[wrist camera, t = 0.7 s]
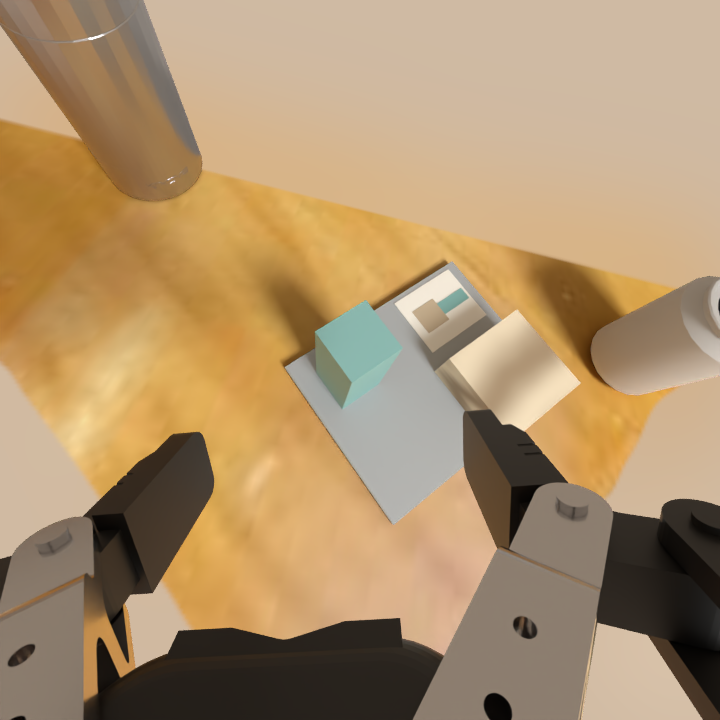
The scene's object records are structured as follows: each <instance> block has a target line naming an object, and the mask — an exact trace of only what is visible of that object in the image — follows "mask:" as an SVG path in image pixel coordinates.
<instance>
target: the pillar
mask: <svg viewBox="0 0 720 720" xmlns="http://www.w3.org/2000/svg"><path fill="white" fill-rule="evenodd" d="M402 349H403V347H402V346H401V345H400V344H399V342H398V341H397V340H396V338H395V337H394V336H393V334H392V333H391V332H390V331H389V329H388V328H387V327H386V325H385V324H384V323H383V322H382V320H381V319H380V318H379V316H378V315H377V314H376V312H375V311H374V310H373V309H372V307H371V306H370V305H369V303H368V302H367V301H366V300H365V301H364V302H362V303H360V304H359V305H357V306H355V307H354V308H352V309H351V310H349V311H347V312H346V313H344V314H343V315H341V316H339V317H338V318H336V319H334V320H333V321H331V322H330V323H328V324H326V325H325V326H323V327H322V328H320V329H318V330H317V331H315V350H316V373H317V375H318V376H319V377H320V379H321V380H322V382H323V383H324V385H325V386H326V387H327V389H328V390H329V392H330V393H331V394H332V396H333V397H334V399H335V400H336V401H337V403H338V404H339V406H340V407H341V409H344V408H345V407H347V406H348V405H350V404H351V403H352V402H354V401H355V400H357V399H358V398H360V397H361V396H362V395H364V394H365V393H367V392H368V391H370V390H371V389H372V388H374V387H375V386H377V385H378V384H379V383H380V381H381V380H382V378H383V377H384V375H385V374H386V372H387V371H388V369H389V368H390V367H391V365H392V364H393V362H394V361H395V359H396V358H397V356H398V355H399V353H400V352H401V350H402Z"/></svg>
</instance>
